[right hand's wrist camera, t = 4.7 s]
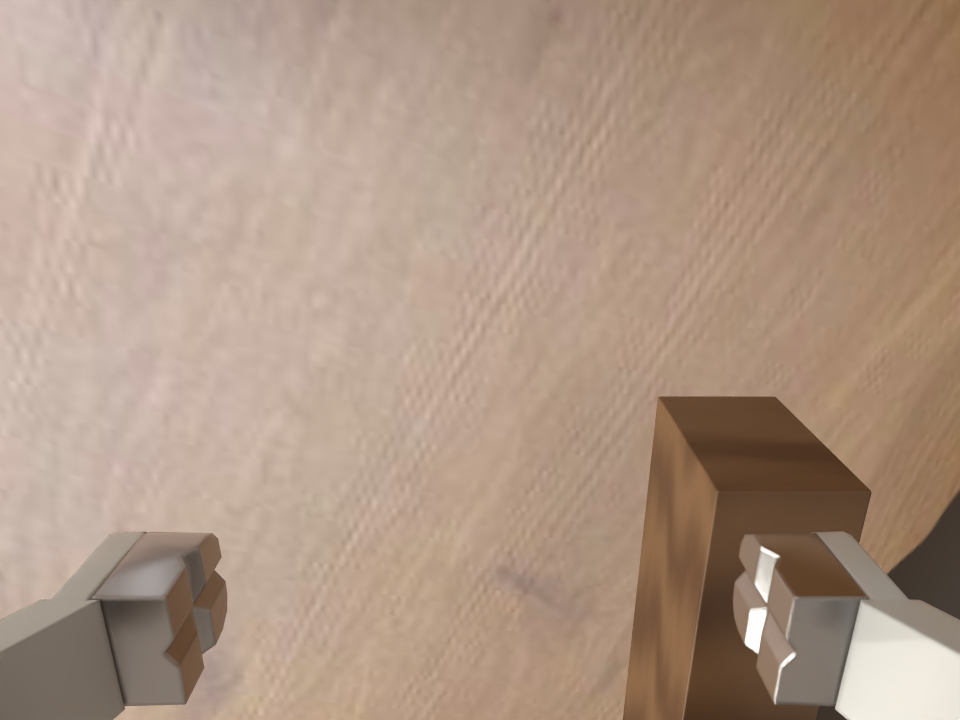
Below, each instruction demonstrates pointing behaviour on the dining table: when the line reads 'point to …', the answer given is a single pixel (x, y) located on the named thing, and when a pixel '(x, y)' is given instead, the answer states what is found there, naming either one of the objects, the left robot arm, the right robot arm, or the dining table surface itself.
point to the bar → (722, 549)
